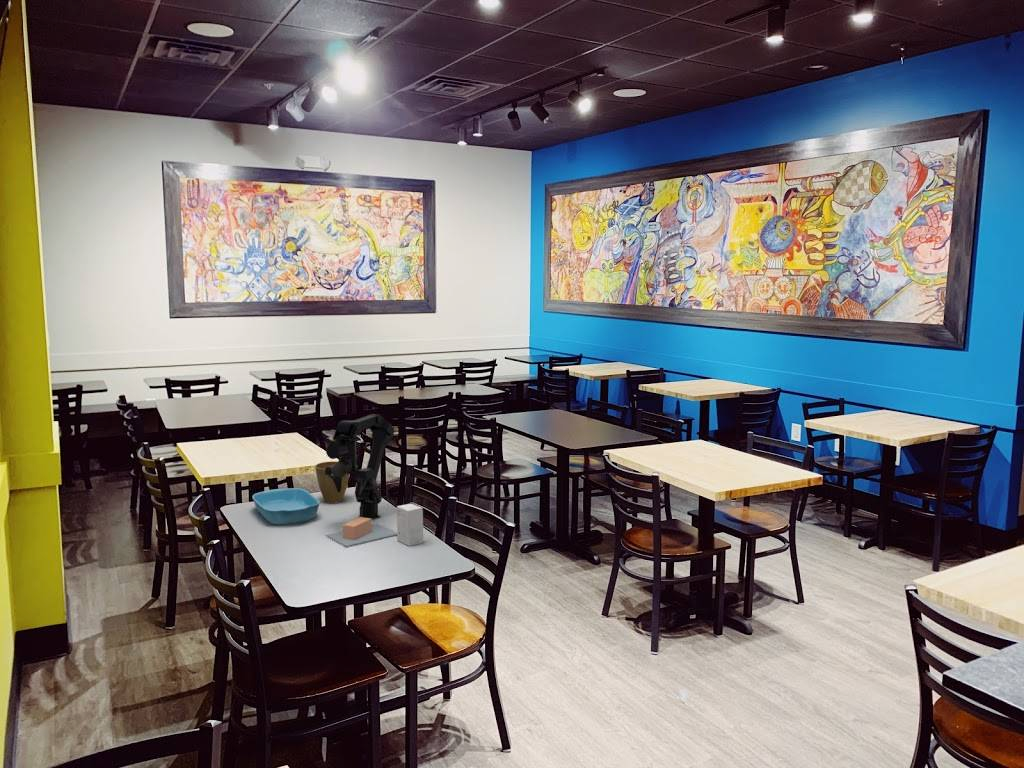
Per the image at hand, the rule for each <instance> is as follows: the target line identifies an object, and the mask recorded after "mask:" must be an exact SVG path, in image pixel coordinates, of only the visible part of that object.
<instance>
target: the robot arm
mask: <svg viewBox="0 0 1024 768" xmlns="http://www.w3.org/2000/svg"><path fill="white" fill-rule="evenodd" d="M367 429H369V430H370V431H371V439H372V442H373V444H372V446H371V447H372V448H371V452H370V454H369V458H368V462H367V466H366V467H364V468H361V469H359V465H357V459H359V455H358V454H357V441H359V440H360V439H359V437H358V435H359V434H361V431H363V430H367ZM394 435H395V427H394V426H393V425H392V423H391V422H390V421H388V420H386V419H385V418H384V417H383V416H382V414H381V415H380V414H376V413H375V414H374V413H370V414H368V415H366V416H363V417H361V418H357V419H354V420H341V421H339V422H338V424H337V426H336V429H335V431H334V435H333V436H332V439H331V440H330V441H329V442H330V443H329V444H328V445H327V446H326V449H325V453H326V456H327V457H328V458H330V459H331V460H334V459H338V463H336V464H335V465H331V466H328V467H326V468H325V475H328V477H330V478H331V479H333V481H334V483H335V486H336V488H337V491H338V493H339V492H341V483H342V477H344V476H345V474H349V475H353V476H356V478H355V480H356V481H357V483H356V486H355V490H354V494H355V495H354V496H355V500H356V503H360V505H359V515H358V518H359V517H364V518H371V520H373V519H377V518H381V515H379V504H381V502H382V498H383V496H382V495H381V494H380V492H379V484H378V482H377V479H378V478H377V477H378V475H379V472H380V467H381V465H382V464H381V463H382V460H383V456H384V453H385V449H386V447H387V445H388V444H390V442H391V441H392V439H393V437H394Z"/></svg>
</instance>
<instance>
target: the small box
mask: <svg viewBox="0 0 1024 768" xmlns="http://www.w3.org/2000/svg"><path fill="white" fill-rule="evenodd" d="M423 509H424V508H423V507H420V506H418V505H416V504H414V503H407V504H402V505H397V506H396V521H397V522H396V523H397V524H396V530H397V531H396V532H397V536H396V537H397V541H398V542H399V543H402V544H403V545H406V546H408V547H410V546H414V545H419V544H422V543H424V516H423V515H424V510H423Z"/></svg>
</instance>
